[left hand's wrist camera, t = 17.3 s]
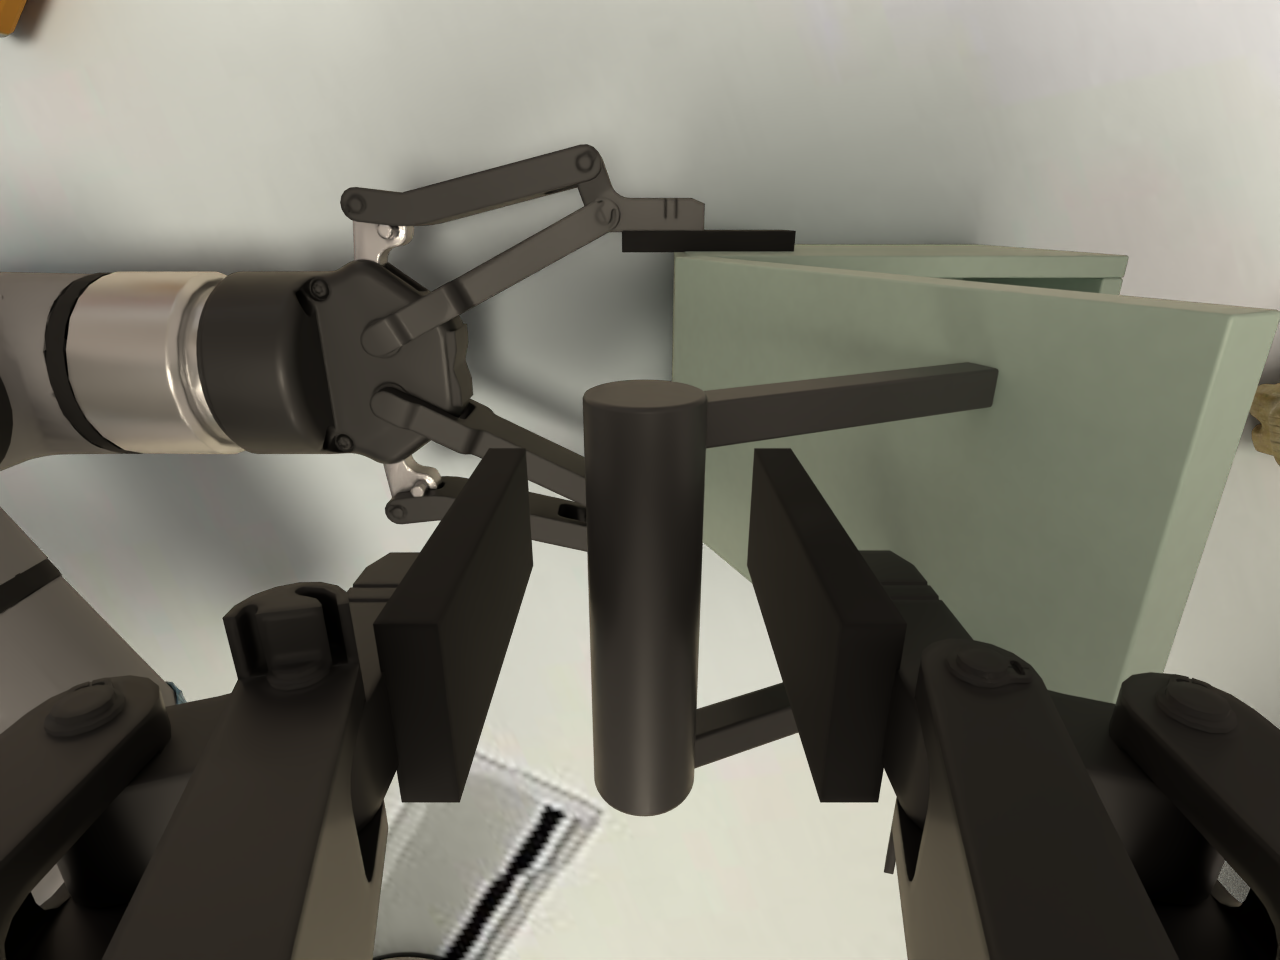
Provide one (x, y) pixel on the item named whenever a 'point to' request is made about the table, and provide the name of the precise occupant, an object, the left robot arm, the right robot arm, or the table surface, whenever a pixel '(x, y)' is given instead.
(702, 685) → the table surface
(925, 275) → the chest
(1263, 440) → the sculpture
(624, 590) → the lid
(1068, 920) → the left robot arm
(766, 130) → the table surface
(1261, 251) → the table surface
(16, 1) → the spray gun
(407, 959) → the bust sculpture
